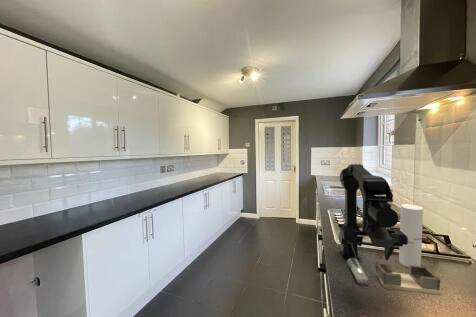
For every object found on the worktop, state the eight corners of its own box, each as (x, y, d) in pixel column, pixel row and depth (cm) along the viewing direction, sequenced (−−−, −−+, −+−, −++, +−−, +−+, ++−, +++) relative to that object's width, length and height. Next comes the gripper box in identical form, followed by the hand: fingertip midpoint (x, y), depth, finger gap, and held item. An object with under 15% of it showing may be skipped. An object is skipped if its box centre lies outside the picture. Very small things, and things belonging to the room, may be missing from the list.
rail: (347, 266, 88) (347, 257, 88) (357, 266, 87) (357, 258, 87) (356, 285, 77) (357, 274, 76) (368, 286, 76) (369, 276, 75)
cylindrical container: (424, 269, 84) (427, 209, 82) (405, 267, 85) (407, 209, 83) (413, 259, 91) (415, 204, 89) (395, 258, 92) (397, 204, 90)
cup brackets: (375, 271, 82) (375, 262, 82) (425, 276, 78) (425, 266, 78) (384, 284, 75) (384, 274, 74) (439, 290, 71) (440, 279, 70)
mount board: (374, 273, 82) (374, 270, 82) (424, 278, 79) (424, 275, 79) (384, 288, 74) (384, 284, 74) (440, 294, 70) (440, 291, 70)
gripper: (349, 222, 63) (348, 270, 65) (420, 226, 59) (417, 277, 60) (339, 210, 74) (339, 251, 75) (399, 212, 70) (397, 255, 71)
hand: (371, 258), depth 70 cm, fingers open, 9 cm apart
